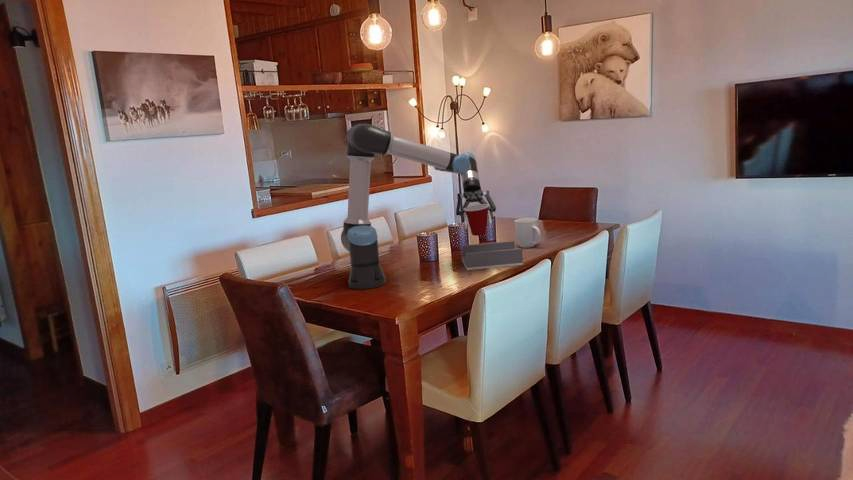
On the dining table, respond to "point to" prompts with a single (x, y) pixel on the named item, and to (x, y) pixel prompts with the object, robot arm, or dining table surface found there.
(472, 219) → the plastic cup
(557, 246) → the dining table surface
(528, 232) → the mug
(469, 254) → the dock
